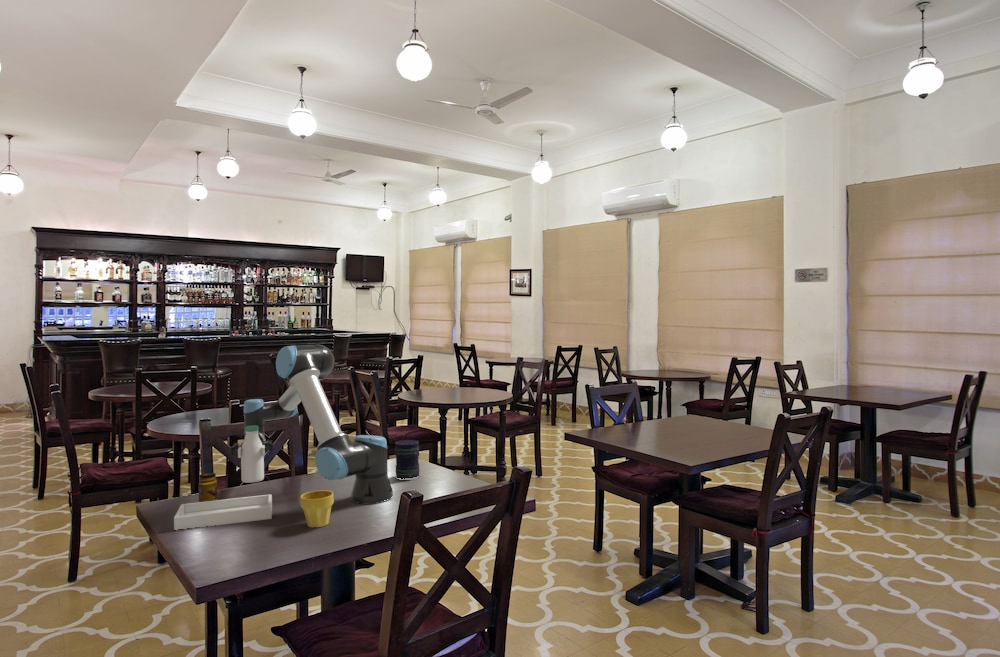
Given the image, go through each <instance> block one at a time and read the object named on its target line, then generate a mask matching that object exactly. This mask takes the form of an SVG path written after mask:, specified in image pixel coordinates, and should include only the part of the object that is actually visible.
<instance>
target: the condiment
mask: <svg viewBox="0 0 1000 657" xmlns="http://www.w3.org/2000/svg"><path fill="white" fill-rule="evenodd" d="M216 475H217V474H216V473H215V472H212V471H211V472H204V473H200V475H199V477H198V478H199V479H198V480H199V482H198V484H197V485H198V488H197V489H198V502H205V501H214V500H218V480H217V477H216Z"/></svg>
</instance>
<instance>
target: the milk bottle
mask: <svg viewBox="0 0 1000 657" xmlns="http://www.w3.org/2000/svg"><path fill="white" fill-rule="evenodd" d="M244 427H245V426H244ZM258 430H259V427H258V426H257V425H252V426H246V427H245V432H244V434H245V433H246V436H245V435H244V438H245V440H244V439H243V441H244V442H243V441H242V443H243V444H242V443H241V444H242V448H241V457H240V469H241V470H240V472H241V473H240V475H241V477H240V478H241V482H242V483H246V484H247V483H249V484H250V483H257V482H261V481H263V480H264V479H265V461H264V458H265V456H262V446H263V445H262V442H261V441H260V438H259V436H258V432H259V431H258Z"/></svg>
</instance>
